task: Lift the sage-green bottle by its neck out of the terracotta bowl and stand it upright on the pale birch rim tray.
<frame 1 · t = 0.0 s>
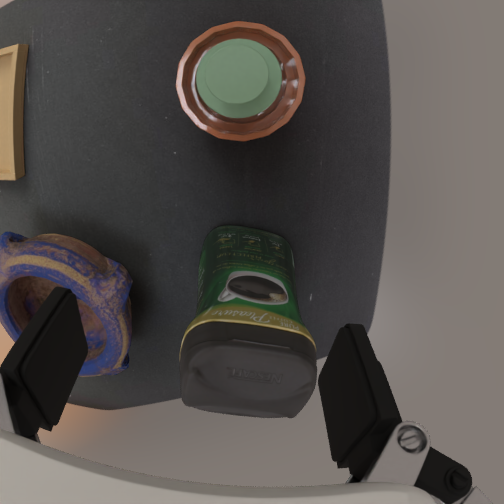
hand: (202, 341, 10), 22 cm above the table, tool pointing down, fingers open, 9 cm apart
bowl: (83, 278, 36), on the table
bottle: (241, 81, 25), point 1 cm above the table, touching clay bowl
coffee jar: (246, 256, 35), on the table
clay bowl: (241, 82, 26), on the table
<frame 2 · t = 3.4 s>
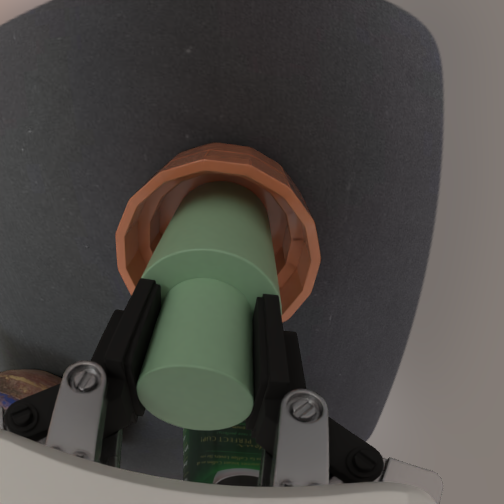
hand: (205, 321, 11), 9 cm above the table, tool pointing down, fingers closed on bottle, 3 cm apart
bowl: (63, 395, 29), on the table
bottle: (221, 226, 19), point 1 cm above the table, touching clay bowl, gripper
coffee jar: (236, 399, 28), on the table
clay bowl: (222, 222, 19), on the table
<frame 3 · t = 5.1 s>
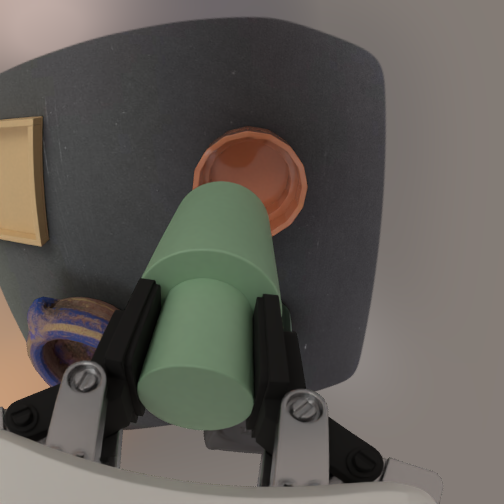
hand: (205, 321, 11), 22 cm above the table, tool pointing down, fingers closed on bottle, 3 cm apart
bowl: (106, 327, 41), on the table
bottle: (221, 226, 19), point 14 cm above the table, touching gripper
coffee jar: (251, 316, 40), on the table
tray: (10, 179, 30), on the table
clay bowl: (249, 174, 31), on the table
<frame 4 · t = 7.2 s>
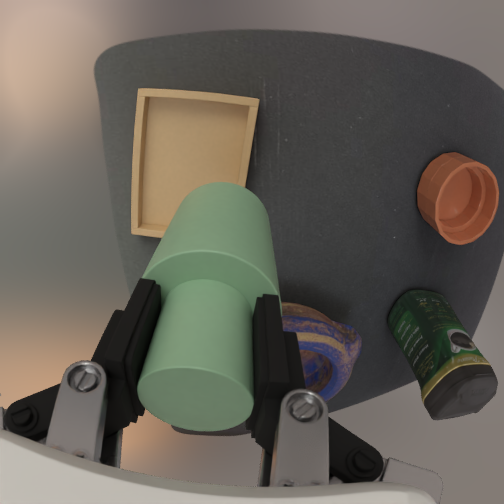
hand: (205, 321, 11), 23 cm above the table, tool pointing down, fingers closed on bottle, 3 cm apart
bowl: (275, 331, 43), on the table
bottle: (221, 227, 19), point 15 cm above the table, touching gripper
coffee jar: (415, 308, 42), on the table
tray: (191, 165, 32), on the table
clay bowl: (447, 190, 33), on the table
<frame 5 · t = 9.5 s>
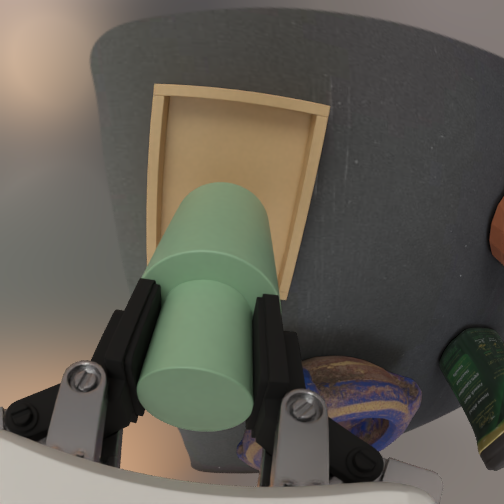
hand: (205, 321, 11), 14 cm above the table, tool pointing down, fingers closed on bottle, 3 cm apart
bowl: (319, 380, 35), on the table
bottle: (221, 227, 19), point 6 cm above the table, touching gripper
coffee jar: (466, 345, 34), on the table
tray: (228, 193, 24), on the table
when the fingers open (9 cm above the table, at t = 11.1 s): bottle stays where it is, resting on tray.
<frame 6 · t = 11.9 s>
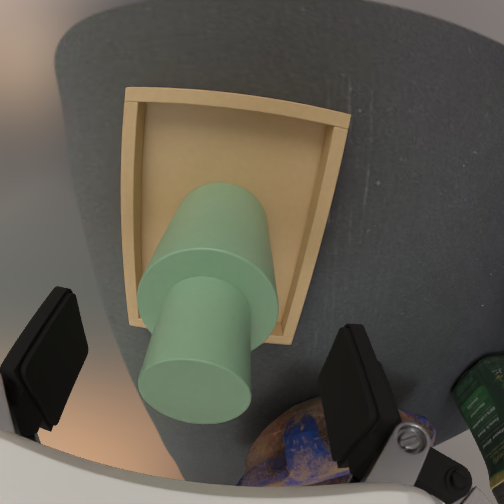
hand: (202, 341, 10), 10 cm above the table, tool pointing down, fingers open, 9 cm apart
bowl: (325, 416, 31), on the table
bottle: (220, 226, 19), resting on tray
coffee jar: (480, 372, 29), on the table
tray: (221, 222, 19), on the table
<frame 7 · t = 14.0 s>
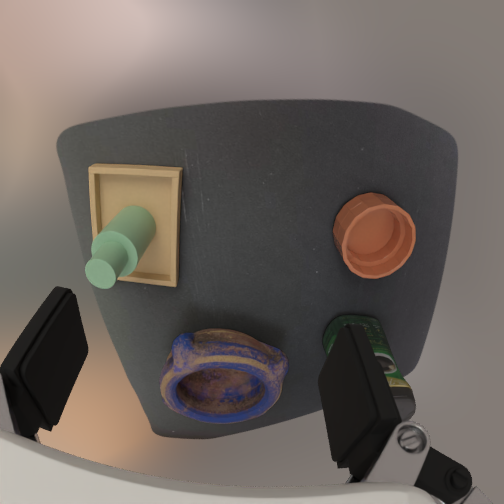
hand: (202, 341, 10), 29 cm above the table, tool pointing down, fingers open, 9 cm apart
bowl: (223, 350, 50), on the table
bottle: (135, 225, 39), resting on tray
coffee jar: (350, 330, 49), on the table
tray: (136, 223, 39), on the table
clay bowl: (367, 226, 40), on the table
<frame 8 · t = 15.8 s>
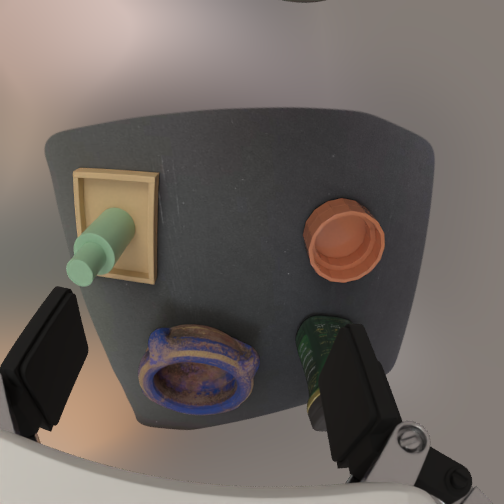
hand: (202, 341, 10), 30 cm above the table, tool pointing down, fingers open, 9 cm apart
bowl: (201, 345, 52), on the table
bottle: (116, 226, 41), resting on tray
coffee jar: (324, 330, 51), on the table
tray: (118, 224, 41), on the table
clay bowl: (338, 231, 42), on the table
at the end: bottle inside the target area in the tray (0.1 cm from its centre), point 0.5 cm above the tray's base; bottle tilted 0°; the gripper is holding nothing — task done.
